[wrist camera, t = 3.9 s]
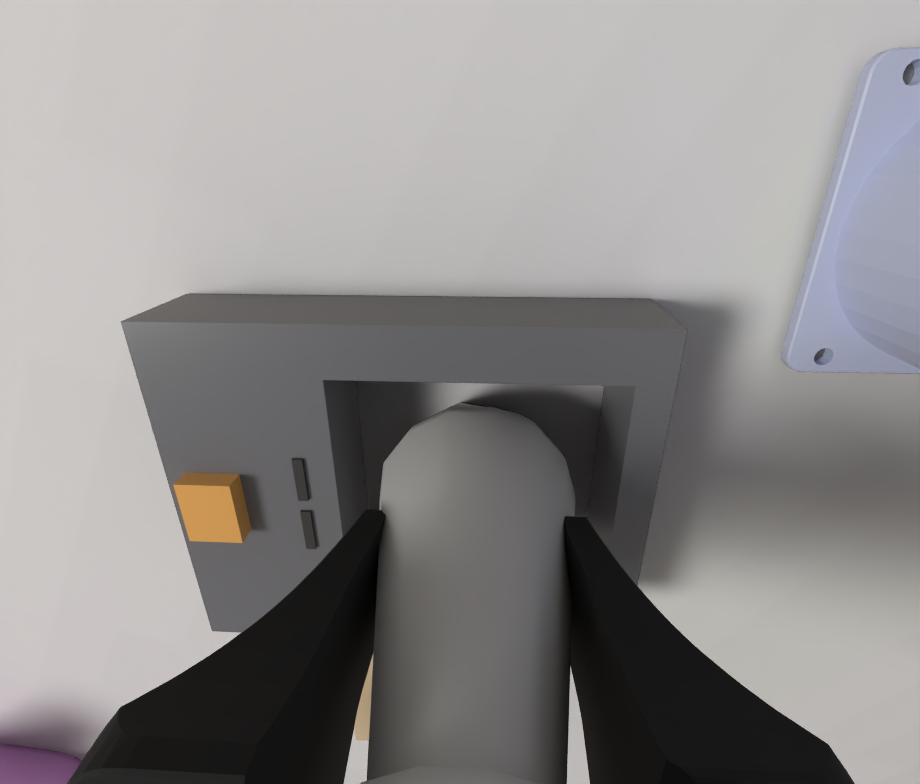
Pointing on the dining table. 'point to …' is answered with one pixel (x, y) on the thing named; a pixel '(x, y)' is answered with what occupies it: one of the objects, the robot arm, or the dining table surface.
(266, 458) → the grey flat block
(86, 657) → the dining table surface
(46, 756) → the teakettle
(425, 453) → the salt shaker
